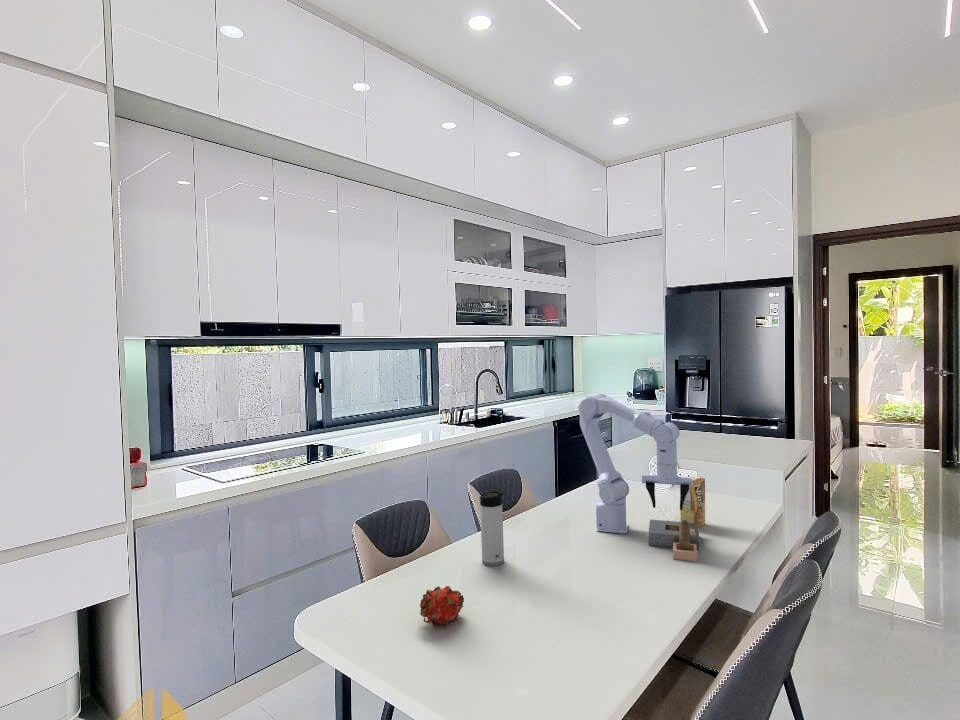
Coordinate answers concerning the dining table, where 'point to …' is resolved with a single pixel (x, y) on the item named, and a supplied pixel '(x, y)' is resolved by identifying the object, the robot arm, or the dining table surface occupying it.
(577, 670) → the dining table surface
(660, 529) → the panel
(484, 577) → the dining table surface
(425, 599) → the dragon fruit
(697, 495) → the candy box
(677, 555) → the holder
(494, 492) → the travel mug
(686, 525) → the brown wooden cylinder
